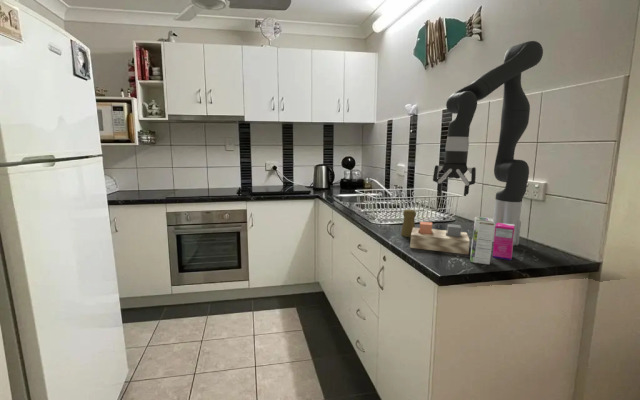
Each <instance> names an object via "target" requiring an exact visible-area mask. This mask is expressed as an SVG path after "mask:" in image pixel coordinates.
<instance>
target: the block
mask: <svg viewBox="0 0 640 400" xmlns="http://www.w3.org/2000/svg"><path fill="white" fill-rule="evenodd" d="M419 230H420V227H416V226H415V227H413V229H412V233H411V237H410V246H409V248H411V249H418V250H426V251H427V250H428V251H437V252H442V253H443V252H446V253H452V254H462V255H469V251H470V244H471V243H470V237H469V235H468V233H467V232H466V231H465V232H464V231H461V235H460V237H451V236H447V230H446V229H445V230H443V229H433V228H432V234H422V233H419Z"/></svg>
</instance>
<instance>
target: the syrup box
mask: <svg viewBox="0 0 640 400" xmlns="http://www.w3.org/2000/svg"><path fill="white" fill-rule="evenodd" d="M473 223H474V224H473V231H472V238H471V247H470V254H469V255H470V256H469V259H470V263H474V264H480V265H481V264H483V265H490V264H491V257H492V251H493V250H492V249H493V243H494V242H493V235H494V226H495V222H494V220H493V218H491V217H490V218H489V217H485V216H475V217H474V222H473Z"/></svg>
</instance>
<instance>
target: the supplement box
mask: <svg viewBox="0 0 640 400" xmlns="http://www.w3.org/2000/svg"><path fill="white" fill-rule="evenodd" d="M514 230H515V225H514V224H505V223H497V224H496V226H495V236H494V242H493V246H492V249H493V250H492V258H495V259H501V260H505V261H512V260H513V259H512V258H513V250H514V249H513V248H514V245H513V240H514Z"/></svg>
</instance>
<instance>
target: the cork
mask: <svg viewBox="0 0 640 400" xmlns="http://www.w3.org/2000/svg"><path fill="white" fill-rule="evenodd" d="M402 213H403V214H402V215H403V222H402V227H401V232H400V235H401V236H402V237H405V238H411V233H412V229H413V227H415V228H416V225H415V218H416V215H417V212H416V210H415V209H411V208H410V209H409V208H408V209H405V210H403V212H402Z"/></svg>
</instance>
